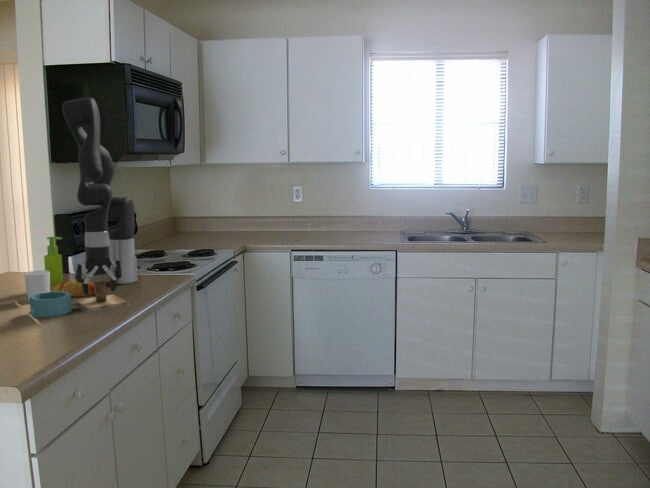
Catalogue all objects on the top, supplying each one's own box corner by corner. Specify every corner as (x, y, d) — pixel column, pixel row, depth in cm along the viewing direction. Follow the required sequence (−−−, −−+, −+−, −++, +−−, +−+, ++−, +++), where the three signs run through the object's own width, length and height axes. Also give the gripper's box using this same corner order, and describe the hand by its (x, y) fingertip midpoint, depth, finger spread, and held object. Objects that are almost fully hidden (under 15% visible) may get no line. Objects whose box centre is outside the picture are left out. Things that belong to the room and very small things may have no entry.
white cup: (31, 298, 213) (29, 270, 212) (55, 298, 214) (53, 270, 212) (22, 304, 205) (20, 275, 204) (46, 303, 206) (44, 274, 205)
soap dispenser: (59, 292, 222) (56, 238, 219) (43, 291, 223) (39, 237, 220) (69, 289, 227) (66, 236, 224) (53, 288, 229) (49, 235, 226)
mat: (116, 297, 214) (116, 296, 214) (131, 306, 203) (131, 304, 203) (71, 304, 205) (71, 302, 205) (85, 314, 194) (85, 312, 193)
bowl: (64, 307, 201) (63, 289, 200) (74, 314, 192) (73, 296, 192) (28, 313, 194) (27, 294, 193) (37, 320, 186) (35, 301, 185)
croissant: (44, 307, 215) (38, 290, 210) (53, 288, 223) (47, 271, 219) (105, 305, 216) (100, 288, 211) (111, 286, 224) (107, 270, 220)
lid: (114, 297, 213) (113, 276, 212) (127, 304, 203) (126, 282, 202) (75, 302, 205) (74, 281, 204) (87, 311, 195) (86, 288, 194)
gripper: (115, 241, 208) (117, 288, 210) (71, 245, 199) (74, 293, 202) (122, 244, 202) (124, 292, 204) (78, 247, 193) (80, 297, 196)
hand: (99, 292), depth 203 cm, fingers open, 8 cm apart
